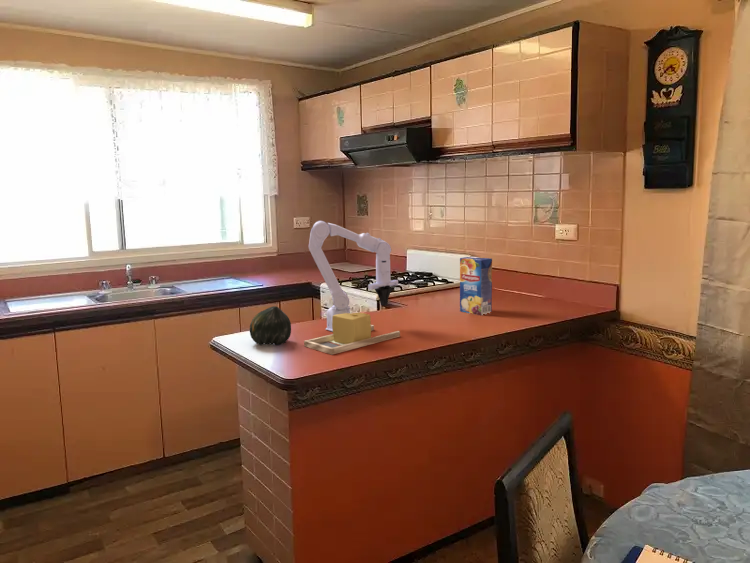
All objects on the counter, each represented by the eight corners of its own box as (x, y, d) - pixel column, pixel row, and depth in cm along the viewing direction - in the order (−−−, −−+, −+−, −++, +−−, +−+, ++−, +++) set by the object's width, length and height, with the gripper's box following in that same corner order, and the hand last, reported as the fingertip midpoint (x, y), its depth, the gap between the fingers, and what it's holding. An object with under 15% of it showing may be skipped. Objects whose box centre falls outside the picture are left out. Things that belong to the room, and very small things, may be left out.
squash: (245, 325, 229) (250, 301, 218) (283, 322, 235) (290, 298, 224) (251, 357, 221) (257, 333, 210) (291, 353, 227) (299, 329, 216)
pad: (328, 341, 225) (328, 341, 225) (353, 335, 233) (353, 335, 233) (351, 348, 215) (351, 347, 215) (376, 341, 223) (376, 341, 223)
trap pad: (309, 346, 219) (309, 345, 219) (326, 342, 224) (326, 341, 224) (332, 353, 209) (332, 352, 209) (349, 348, 215) (349, 348, 214)
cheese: (351, 336, 231) (350, 310, 230) (372, 340, 224) (372, 314, 223) (332, 341, 224) (331, 315, 222) (353, 346, 217) (353, 319, 215)
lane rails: (304, 346, 219) (303, 340, 219) (371, 329, 241) (371, 324, 241) (331, 354, 207) (331, 349, 207) (400, 336, 230) (400, 331, 229)
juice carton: (491, 312, 267) (492, 258, 263) (480, 315, 262) (481, 260, 258) (470, 308, 276) (470, 256, 272) (459, 311, 271) (459, 258, 267)
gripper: (376, 274, 231) (377, 309, 234) (403, 270, 241) (403, 303, 243) (364, 272, 237) (365, 306, 239) (391, 268, 246) (391, 301, 249)
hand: (383, 305), depth 241 cm, fingers closed
